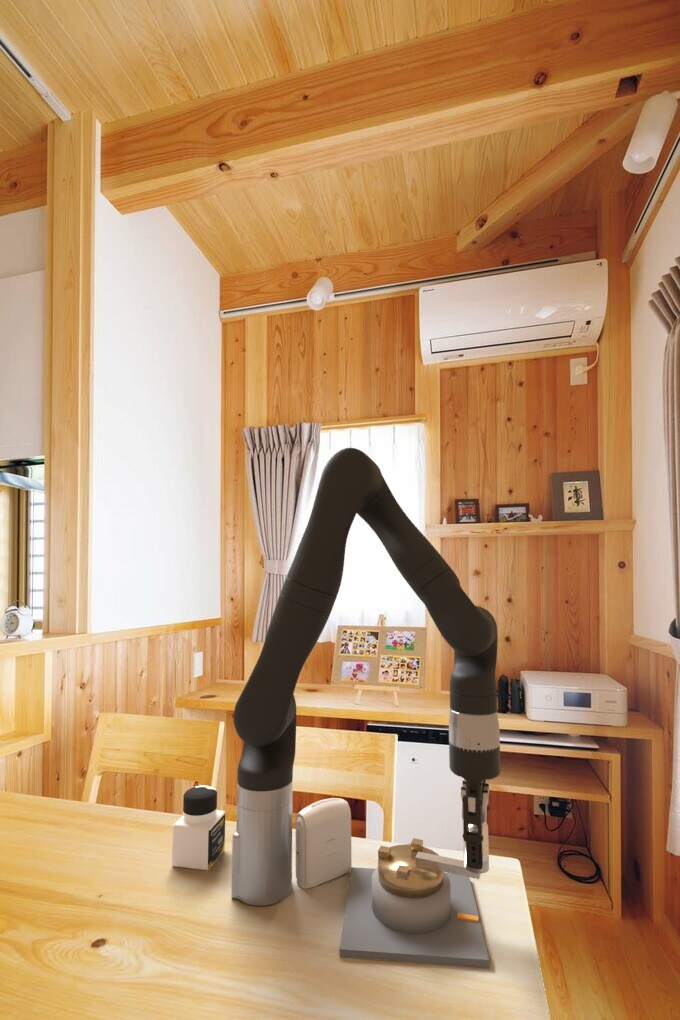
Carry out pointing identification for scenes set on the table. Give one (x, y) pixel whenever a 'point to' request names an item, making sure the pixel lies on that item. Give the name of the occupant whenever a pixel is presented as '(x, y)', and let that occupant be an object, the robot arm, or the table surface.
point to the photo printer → (323, 842)
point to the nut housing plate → (412, 946)
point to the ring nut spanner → (423, 867)
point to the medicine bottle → (199, 830)
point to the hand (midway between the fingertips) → (476, 852)
